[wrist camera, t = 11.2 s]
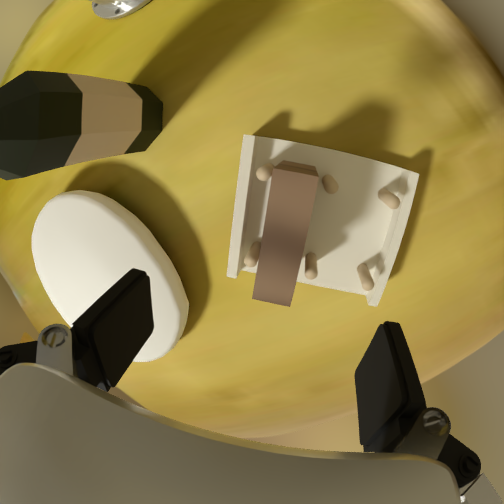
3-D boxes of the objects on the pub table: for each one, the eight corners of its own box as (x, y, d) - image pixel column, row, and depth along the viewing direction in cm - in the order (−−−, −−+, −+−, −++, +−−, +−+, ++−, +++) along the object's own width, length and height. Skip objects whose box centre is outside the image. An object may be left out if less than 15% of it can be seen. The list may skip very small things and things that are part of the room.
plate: (223, 324, 29) (126, 385, 40) (234, 290, 35) (140, 359, 46) (46, 153, 22) (12, 278, 33) (81, 143, 28) (34, 260, 38)
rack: (251, 135, 25) (239, 134, 21) (406, 169, 23) (425, 176, 19) (235, 262, 31) (222, 283, 27) (371, 289, 29) (379, 314, 25)
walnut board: (283, 160, 24) (273, 168, 17) (315, 166, 24) (319, 176, 17) (267, 257, 28) (252, 298, 21) (295, 263, 28) (289, 306, 21)
